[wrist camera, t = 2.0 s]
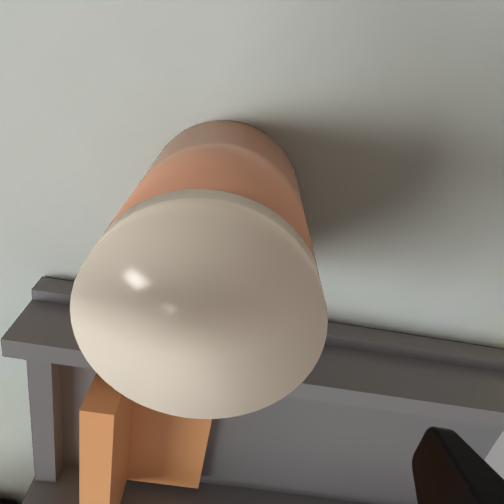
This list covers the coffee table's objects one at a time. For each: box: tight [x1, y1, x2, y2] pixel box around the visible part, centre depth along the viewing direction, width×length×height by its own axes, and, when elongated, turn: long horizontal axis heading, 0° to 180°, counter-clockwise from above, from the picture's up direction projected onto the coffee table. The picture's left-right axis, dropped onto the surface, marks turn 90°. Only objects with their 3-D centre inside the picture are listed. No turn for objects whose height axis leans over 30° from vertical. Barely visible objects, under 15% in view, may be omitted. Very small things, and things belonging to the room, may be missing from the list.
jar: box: [70, 121, 328, 419], centre depth 13 cm, size 6×6×8 cm
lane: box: [1, 277, 504, 504], centre depth 20 cm, size 12×24×6 cm, turn 80°
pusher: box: [79, 373, 212, 504], centre depth 19 cm, size 8×5×4 cm, turn 170°
